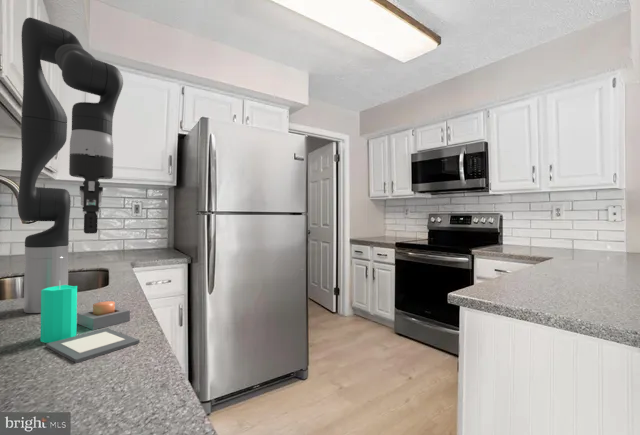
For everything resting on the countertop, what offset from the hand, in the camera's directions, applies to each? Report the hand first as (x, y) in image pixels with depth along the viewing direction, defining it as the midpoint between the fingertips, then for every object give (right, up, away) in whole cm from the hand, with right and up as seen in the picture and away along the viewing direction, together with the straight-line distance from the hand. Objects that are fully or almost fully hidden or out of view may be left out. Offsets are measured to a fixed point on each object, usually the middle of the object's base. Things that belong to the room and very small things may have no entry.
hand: (90, 231), depth 69 cm
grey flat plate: (+3, -22, -4) cm, 23 cm away
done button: (-4, -21, +10) cm, 23 cm away
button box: (-4, -22, +10) cm, 25 cm away
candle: (-6, -22, 0) cm, 23 cm away
